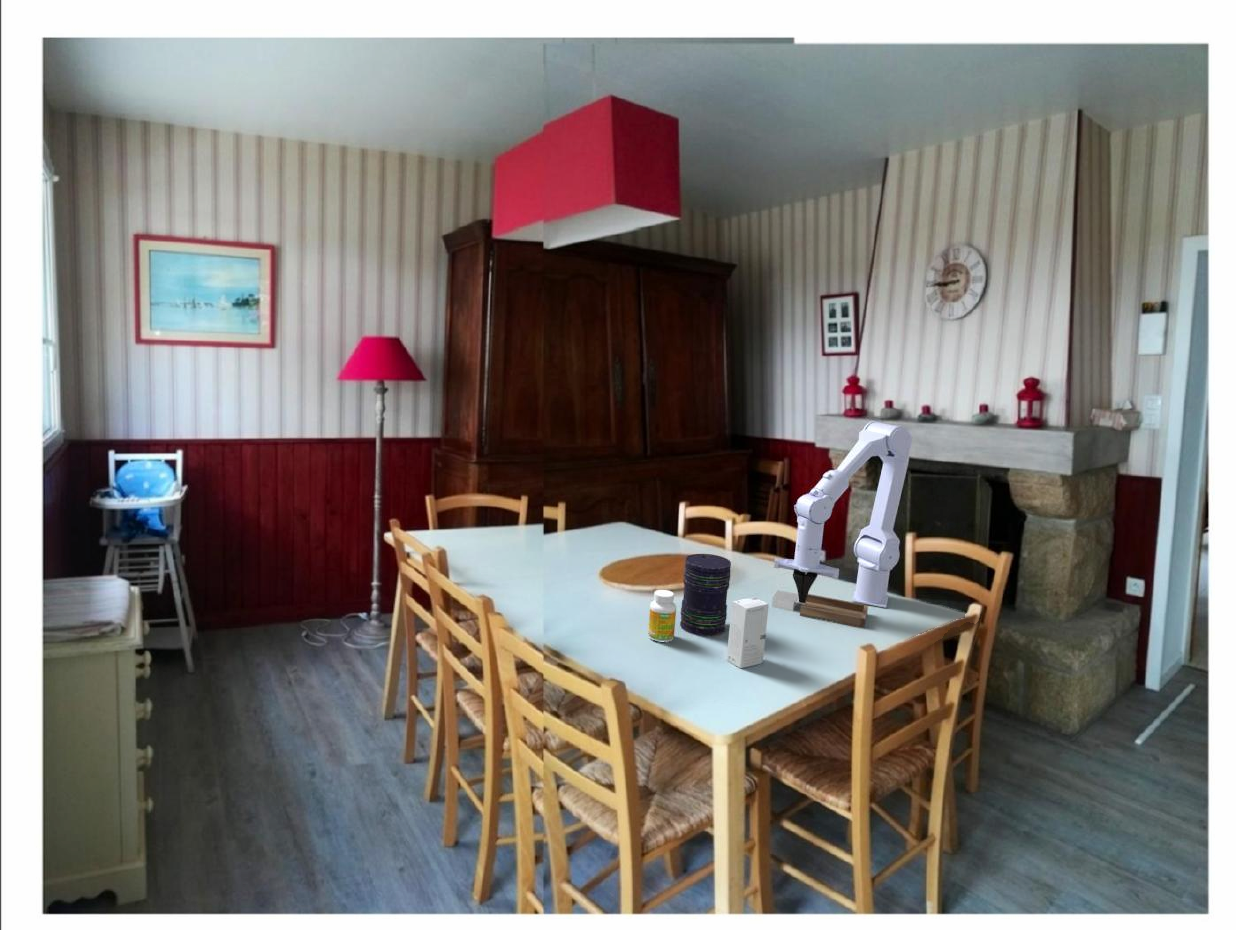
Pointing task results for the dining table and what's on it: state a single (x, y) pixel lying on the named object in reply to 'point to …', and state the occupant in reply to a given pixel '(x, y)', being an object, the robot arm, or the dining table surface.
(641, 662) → the dining table surface
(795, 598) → the cover plate
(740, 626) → the skincare box
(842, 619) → the wooden box
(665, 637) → the supplement bottle
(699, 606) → the dark blue cylinder
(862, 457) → the robot arm
